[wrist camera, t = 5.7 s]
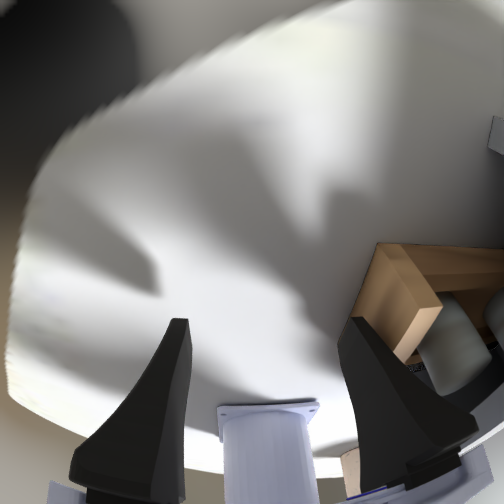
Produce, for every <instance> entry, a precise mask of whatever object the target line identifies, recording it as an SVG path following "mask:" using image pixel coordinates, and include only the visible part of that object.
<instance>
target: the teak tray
mask: <svg viewBox="0 0 504 504" xmlns="http://www.w3.org/2000/svg"><path fill="white" fill-rule="evenodd" d="M360 316H363V317H364V318H365V320H366V321H367V322H368V323H369V324H370V325H371V327H372V328H373V329H374V330H375V331H376V333H377V334H378V335H379V336H380V337H381V339H382V340H383V341H384V342H385V343H386V345H387V346H388V347H389V348H390V349H391V350H392V351H393V353H394V354H395V355H396V356H397V357H398V358H399V359H400V360H401V361H402V362H403V363H404V364H405V365H411V364H415V363H420V362H424V365H425V367H426V369H427V371H428V373H429V376H430V378H431V380H432V382H433V385H434V387H435V389H436V392H437V394H439V395H440V396H445V395H448V394H451V393H453V392H455V391H457V390H459V389H461V388H462V387H464V386H465V385H467V384H468V383H470V382H471V381H472V380H474V379H475V378H476V377H477V376H478V375H480V374H481V373H482V372H483V371H484V370H485V368H486V367H487V366H488V365H489V363H490V362H491V360H492V356H491V354H490V352H489V350H488V349H487V347H486V344H489V343H492V342H495V341H497V340H498V342H499V344H500V345H501V347H502V349H503V350H504V249H489V248H471V247H453V246H433V245H411V244H389V243H377V246H376V249H375V252H374V255H373V258H372V260H371V263H370V266H369V269H368V271H367V274H366V277H365V279H364V282H363V285H362V287H361V290H360V292H359V295H358V297H357V300H356V302H355V305H354V307H353V309H352V312H351V314H350V317H360ZM350 317H349V319H350ZM349 319H348V321H349ZM348 321H347V323H346V326H347V324H348ZM346 326H345V328H346ZM345 328H344V330H345ZM344 330H343V333H344ZM343 333H342V335H343ZM342 335H341V337H342ZM341 337H340V339H341ZM340 339H339V341H340ZM339 341H338V343H339ZM337 345H338V344H337Z"/></svg>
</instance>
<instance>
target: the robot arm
mask: <svg viewBox="0 0 504 504" xmlns="http://www.w3.org/2000/svg"><path fill="white" fill-rule="evenodd" d="M338 352H339V359H340V364H341V368H342V372H343V375H344V378H345V382H346V385H347V388H348V392H349V395H350V399H351V402H352V405H353V409H354V414H355V419H356V426H357V433H358V442H359V454H360V491H361V494H364V493H367V492H371V491H374V490H377V489H380V488H383V487H386V486H387V490H384V491H381V492H377V493H374V494H371V495H368V496H364V497H361V498H357V499H353V500H349V501H345V502H341V503H337V504H465V503H466V502H468V501H469V500H470V499H472V498H473V497H474V496H476V495H477V494H478V493H480V492H481V491H482V490H483V489H485V488H486V487H488V486H489V485H490V484H492V483H493V481H494V479H493V475H492V472H491V468H490V465H489V462H488V459H487V456H486V452H485V449H484V446H483V445H482V444H481V445H480V446H478V447H476V448H475V449H473V450H471V451H469V452H468V453H466V454H464V455H462V456H461V457H459V454H458V453H459V452H461V447H460V445H461V444H463V443H465V442H466V441H468V440H469V439H471V438H472V437H474V436H475V435H476V434H478V433H479V431H480V430H479V427H478V424H477V422H476V419H475V417H474V415H472V414H470V413H468V412H466V411H464V410H462V409H460V408H458V407H457V406H455V405H454V404H452V403H450V402H449V401H447V400H446V399H444V398H443V397H441V396H440V395H439V394H437V393H436V392H435V391H433V390H432V389H431V388H430V387H428V386H427V385H426V384H425V383H424V382H422V381H421V380H420V379H419V378H418V377H417V376H416V375H415V374H414V373H413V372H411V371H410V370H409V369H408V367H407V366H406V365H405V364H404V363H403V362H402V361H401V360H400V359H399V358H398V357H397V356H396V355H395V354H394V353H393V351H392V350H391V349H390V348H389V347H388V346H387V345H386V343H385V342H384V341H383V340H382V339H381V337H380V336H379V335H378V334H377V333H376V331H375V330H374V329H373V328H372V327H371V325H370V324H369V323H368V322H367V321H366V320H365V318H364V317H363V316H360V317H350V319H349V321H348V324H347V326H346V328H345V330H344V333H343V335H342V337H341V339H340V341H339V343H338ZM191 368H192V342H191V336H190V329H189V321H188V319H183V318H173V319H171V321H170V324H169V326H168V328H167V330H166V333H165V335H164V337H163V339H162V341H161V343H160V345H159V347H158V349H157V350H156V352H155V354H154V356H153V358H152V359H151V361H150V363H149V365H148V366H147V368H146V369H145V371H144V372H143V374H142V376H141V377H140V379H139V380H138V382H137V383H136V385H135V386H134V388H133V389H132V390H131V392H130V393H129V394H128V396H127V397H126V398H125V400H124V401H123V402H122V403H121V404H120V406H119V407H118V408H117V409H116V411H115V412H114V413H113V414H112V415H111V416H110V417H109V418H108V419H107V420H106V421H105V422H104V424H103V425H102V426H101V427H100V428H99V429H98V430H97V431H96V432H95V433H94V434H92V435H91V436H90V437H89V438H88V439H87V440H86V441H84V442H83V443H82V444H81V445H80V446H79V447H77V448H76V449H75V451H74V454H73V457H72V461H71V465H70V471H69V480H70V481H72V482H74V483H77V484H79V485H82V486H84V487H87V493H85V492H82V491H79V490H76V489H74V488H71V487H68V486H65V485H62V484H60V483H57V482H55V481H52V480H50V482H49V490H48V497H47V504H180V503H182V502H183V501H184V500H185V499H186V498H185V484H184V483H185V482H184V420H185V411H186V404H187V397H188V390H189V383H190V377H191ZM319 407H320V404H319V402H306V403H295V404H280V405H259V406H219V407H218V408H217V417H218V428H219V438H220V442H221V443H223V451H224V484H225V485H224V487H225V504H320V502H319V495H318V489H317V482H316V476H315V469H314V463H313V457H312V451H311V445H310V439H309V433H308V427H307V425H308V424H309V422H310V421H311V419H312V418H313V416H314V415H315V413H316V412H317V410H318V409H319Z"/></svg>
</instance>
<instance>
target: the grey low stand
mask: <svg viewBox="0 0 504 504" xmlns="http://www.w3.org/2000/svg"><path fill="white" fill-rule="evenodd" d="M487 147H489V148H490V149H492V150H494V151H496V152H498V153H500V154H501V155H503V156H504V120H503V119H501V118H498V117H496V116H494V118H493V124H492V129H491V133H490V138H489V142H488V146H487ZM489 352H490V354H491V356H492V360H491V362H490V363H489V365H488V366H487V367H486V368H485V370H484V371H483V372H482V373H481V374H480V375H478V376H477V377H476V378H475V379H474V380H472V381H471V382H470V383H468V384H467V385H465V386H464V387H462V388H461V389H459V390H457V391H455V392H453V393H451V394H448V395H445V396H441V397H443V398H444V399H446V400H447V401H449V402H450V403H452V404H454V405H455V406H457V407H458V408H460V409H462V410H464V411H466V412H468V413H470V414H472V415H474V417H475V419H476V422H477V424H478V427H479V430H480V431H479V433H478V434H476V435H475V436H474V437H472V438H471V439H469V440H468V441H466V442H465V443H463V444H461V445H460V447H461V452H459V453H458V454H459V455H460V454H462V453H464V452H466V451H468V450H469V449H471V448H472V447H474V446H476V445H478V444H480V443H481V442H483V441H484V440H486V439H487V438H489V437H491V436H492V435H494V434H495V433H497V432H498V431H500V430H501V429H502V428H504V350H503V349H502V347H501V345H500V344H498V346H497V347H496V348H494V349H492V350H489ZM413 373H414V374H415V375H416V376H417V377H418V378H419V379H420V380H421V381H422V382H424V383H425V384H426V385H427V386H428V387H430V388H431V389H432V390H433V391H435V392H436V389H435V387H434V385H433V382H432V380H431V378H430V376H429V373H428V371H427V369H426V370H422V371H417V372H413ZM436 393H437V392H436Z"/></svg>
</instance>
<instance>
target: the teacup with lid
mask: <svg viewBox="0 0 504 504" xmlns="http://www.w3.org/2000/svg"><path fill="white" fill-rule="evenodd" d="M340 460H341V465H342V470H343V475H344V480H345V486H346V491H347V496H348V498H347V499H346V500H348V501H349V500H353V499H357V498H361V497H364V496H368V495H371V494H374V493H377V492H381V491H384V490H387V486H386V487H383V488H380V489H377V490H374V491H371V492H367V493H364V494H361V491H360V454H359V447H358V448H355V449H353V450H351V451H348V452H346V453H345V454H343V455H342V456H341V457H340Z"/></svg>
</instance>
